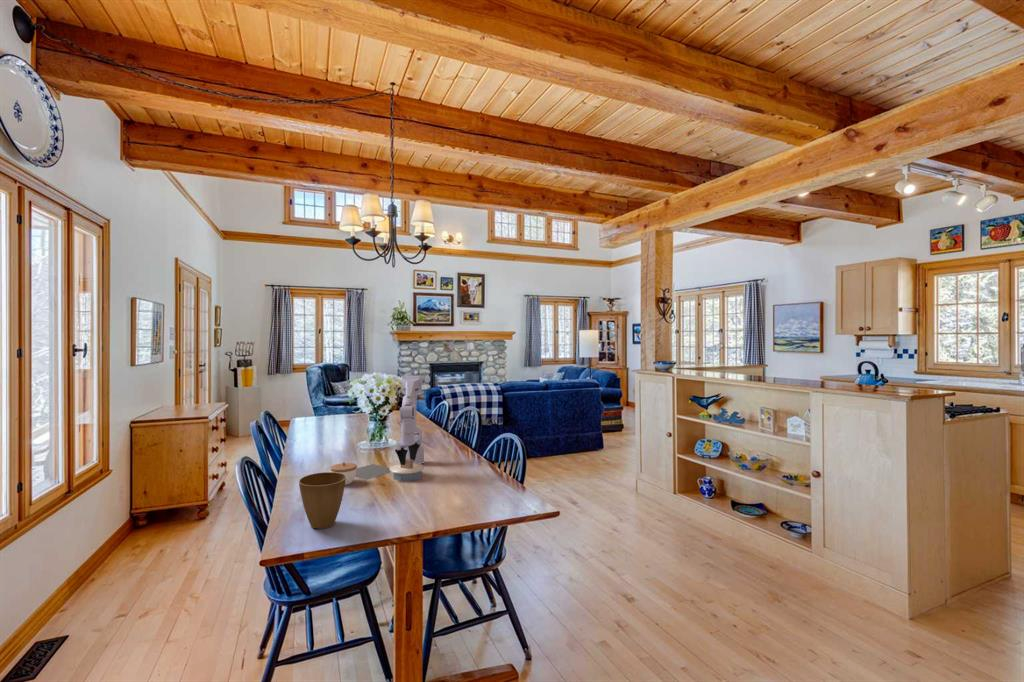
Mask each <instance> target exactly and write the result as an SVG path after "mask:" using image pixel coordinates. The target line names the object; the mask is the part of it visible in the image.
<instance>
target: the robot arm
mask: <svg viewBox="0 0 1024 682" xmlns="http://www.w3.org/2000/svg"><path fill="white" fill-rule="evenodd" d="M400 382H401V383H400V386H401V390H402V392H403V393H404V394H405V395H403V398H402V401H401V402H402V403H401V407H399V419H400V430H401V431H400V441H399V443H398V444H396V445H395V449H394V452H395V453H396V455H397V457H398V461H399V464H400V465H405V462H406V459H411V460H413V463H416V464H419V463H420V464H421V465H423V464H422V462H425V450H424V447H423V446H422V445H423V434H422V433H423V432H422V429H421V428H419V427H418V425H417V402H418V401H417V399H418V398H417V397H418V394H420V393H422V388H423V387H422V386H423V376H422V375H402V376H401V378H400Z"/></svg>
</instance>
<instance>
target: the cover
mask: <svg viewBox="0 0 1024 682" xmlns="http://www.w3.org/2000/svg"><path fill="white" fill-rule="evenodd" d="M389 468H390V473H392V474H394V473H397V474H410V473H416V472H419V471H423V470H424V469H425V467H424V464H416V463H413V460H411V459H406V462H405V465H400V463H399V464H395V465H392V466H390V467H389Z"/></svg>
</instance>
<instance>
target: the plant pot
mask: <svg viewBox="0 0 1024 682" xmlns="http://www.w3.org/2000/svg"><path fill="white" fill-rule="evenodd" d="M345 481H346V476H345V475H344V474H342V473H336V472H331V471H329V472H328V471H326V472H324V471H323V472H316V473H311V474H308V475H305V476H302V477H301V478H300V479H299V480H298V486H299V491H300V495H301V496H300V497H301V502H302V505H303V508H304V511H305V514H306V518H307V520H308V524H309V525H310V527H311V528H312V527H313V528H312V529H314V528H324V529H328V528H331V527H332V526H334V525H335V523H336V520H337V517H338V514H339V512H340V509H341V505H342V502H343V501H342V500H343V496H344V492H345V486H346V485H345ZM330 526H331V527H330ZM327 527H328V528H327Z"/></svg>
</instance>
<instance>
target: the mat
mask: <svg viewBox="0 0 1024 682" xmlns="http://www.w3.org/2000/svg"><path fill="white" fill-rule="evenodd" d="M389 473H391V472H390V467H387V466H384V465H379V464H374V463H371V464H368V465H365V466H361V467H357V472H356V477H355V478H360V479H363V480H370V479H373V478H376V477H380V476H383V475H386V474H389Z"/></svg>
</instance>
